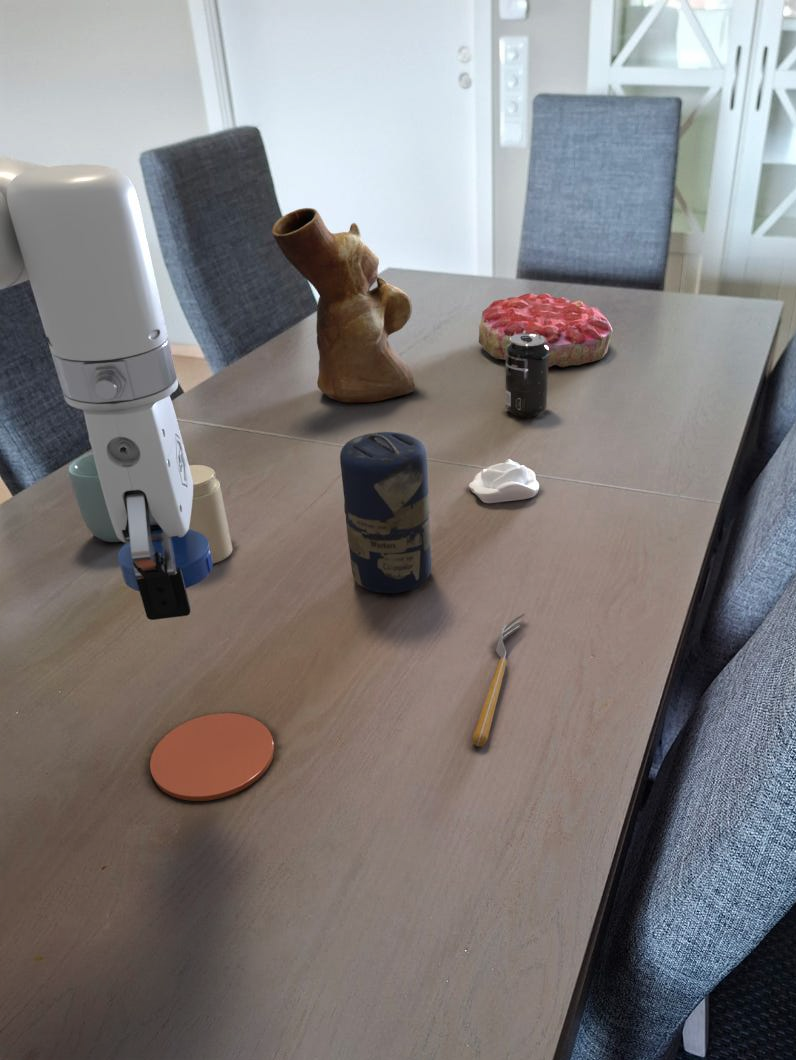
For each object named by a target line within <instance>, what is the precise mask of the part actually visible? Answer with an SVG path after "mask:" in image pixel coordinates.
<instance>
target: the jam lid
mask: <svg viewBox="0 0 796 1060" xmlns="http://www.w3.org/2000/svg"><path fill="white" fill-rule="evenodd" d="M158 532H162V530H156V531H152V532H151V533H158ZM171 539H172V545H173V551H174V558H175V564H176V568H179V567H181V571H182V575H183V579H184V583H185V587H186V589H188V588H191V587H193V586H195V585H197V584H199V583H200V582H202V581H203V580H205V579H206V578H207V577H208V576H209V575H210V573H211V572H212V571H213V566H214V564H213V561H212V556H211V551H210V546H209V542H208V539H207V538H206V537H205V536H204V535H203V534H201V533H199V532H197V531H194V530H189V529H188V531H187V533H186V534H185V535H184V536H183V537H178V536H172V537H171ZM152 545H153V548H154V550H155V553H157V552H160V553H161V554H162V556H164V551H163V545H162V541H157V542H152ZM117 561H118V565H119V568H120V571H121V574H122V579H123V582H124V583H125V585H127V587H129V588H130V589H132V590H134V591H137V592H140V591H139V587H138V584H137V580H136V577H135V571H134V565H133V560H132V556H131V547H130V541H129V542H128V543H125V544H124V545H122V547H121V548H120V549H119V551H118V554H117Z"/></svg>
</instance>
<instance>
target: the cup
mask: <svg viewBox="0 0 796 1060" xmlns="http://www.w3.org/2000/svg"><path fill="white" fill-rule="evenodd" d="M67 470H68V471H67V474H68V477H69V482H70V484H71V488H72V491H73V494H74V497H75V501H76V503H77V504H76V505H77V506H78V509H79V512H80V515H81V517H82V519H83V522H84V524H85V525H86V527H87V529H88V531H89V532H90V533H91V534H92V535H93V537H95V538H97V539H98V540H100V541H104V542H107V543H123V541H121V540H120V539H118V537H117V535H116V533H115V530H114V528H113V525H112V522H111V519H110V516H109V512H108V509H107V506H106V502H105V498H104V495H103V491H102V487H101V483H100V480H99V476H98V472H97V468H96V464H95V460H94V456H93V452H90V453H87V454H84V455H82V456H80V457H78V458H76V459H75V460H73V461H72V462H71V463H70V464H69V466H68V469H67Z"/></svg>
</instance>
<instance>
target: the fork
mask: <svg viewBox="0 0 796 1060" xmlns="http://www.w3.org/2000/svg"><path fill="white" fill-rule="evenodd" d="M524 616H525V613H522V614H520V615H519V616H517V617H515V618H514V619H513V620H511V621H510V622H509V623H507V624H506V625H504V626H503V627H502V630H501V632H500V634H499V638H498V642H497V646H496V649H495V652H496V654H497V655H498V656H499V660H498V662H497V666H496V669H495V672H494V675H493V678H492V680H491V683H490V686H489V689H488V691H487V695H486V697H485V701H484V703H483V706H482V709H481V712H480V715H479V717H478V720H477V724H476V727H475V730H474V732H473V735H472V743H473V745H475V746H476V747H484V746H485V745H486V744H487V743H488V738H489V734H490V730H491V726H492V722H493V718H494V715H495V712H496V711H495V710H496V707H497V702H498V698H499V694H500V690H501V686H502V683H503V680H504V679H503V678H504V675H505V671H506V667H507V663H508V662H507V659H506V655H507V650H506V647H505V644H504V640H505V639H506V638H508V636H510V635H511V634H512V633H513V632H515V631H516V630H518V629H519V628H520V627H521V625H520V624H521V623H522V622H523V620H522V619H521V618H523V617H524Z"/></svg>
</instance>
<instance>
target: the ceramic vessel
mask: <svg viewBox="0 0 796 1060" xmlns="http://www.w3.org/2000/svg"><path fill="white" fill-rule="evenodd" d="M323 220H324V219H323V218H322V216H321V215H320V213H319V212H318V210H317V209H315V208H312V207H303V208H297V209H296V210H293V211H290V212H289V213H286V214H285V215H283V216H281V217H280V218H278V220H276V222H275V223H274V224H273V226H272V229H271V234H272V237H273V238H274V241H275V243H276V244H277V246H278V247H279V250H280V251H281V253H282V254H283V256H284V258H285V259H286V260H287V261H288V263H290V264H291V265H292V266H293V267H294V268H295V269H296V271H298V272H299V273H300V275H301V276H302V277H303V278H304V279H305V280H307V282H309V283H310V284H311V285H312V286H313V288H314V289H315V290H316V292H317V293H318V295H319V297H318V299H317V300H318V301H317V306H316V307H317V308H316V327H315V328H316V331H315V332H316V344H317V345H316V346H317V350H318V354H319V355H318V356H319V358H318V376H317V380H316V384H317V388H318V389H319V390H320V391H321V392H323V393H324V394H325V395H326V396H327V397H328V398H329V399H332V400H335V401H338V402H343V403H373V402H380V401H386V400H389V399H392V398H396V397H400V396H401V397H402V396H404V395H408V394H411V393H413V392H414V391H415V388H416V384H415V378H414V376H413V374H412V372H411V370H410V368H409V366H408V365H407V363H406V362H405V361H404V360H403V359H402V357H400V356H399V355H398V353H397V352H396V351H395V350H394V349H393V348H392V346H391V344H390V342H389V341H388V340H389V336H390V335H392V334H394V333H397V332H399V331H400V330H402V329H403V328H404V327H405V326H406V324H407V323H408V321H409V320H410V319H411V316H412V312H413V303H412V300H411V298H410V297H409V295H408V294H407V293H406V292H405V291H404V290H403V289H401V288H399V287H397V286H395V285H391V284H389V283H388V282H387V280H385V279H384V278H383V277H381V276H379V273H378V269H379V266H380V265H379V264H380V260H379V259H380V258H379V257H378V256H377V254H376V253H374V252H373V250H372V249H370V247H369V246H367V244H366V243H365V242H364V241H363V239H362V235H361V231H360V228H359V226H358V224H357V223H356V222H352V223H351V224H350V227H349V230H348V231H347V232H346V231H341V232H336V233H334V232H331V231H330V230H329V229H328V227H327V226H326V224H325V222H324V221H323ZM375 283H376V284H377V285H376V287H374V288H372V286H373V285H374V284H375ZM371 288H372V289H371Z"/></svg>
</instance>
